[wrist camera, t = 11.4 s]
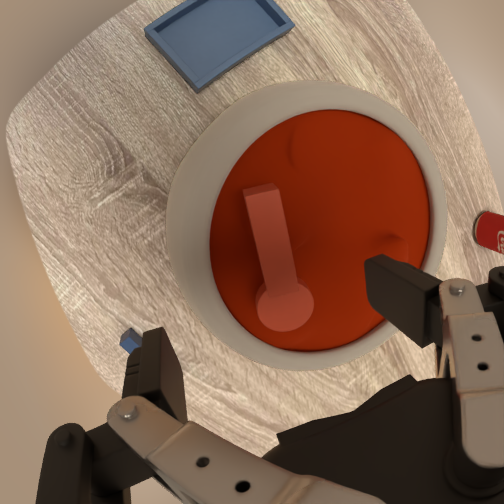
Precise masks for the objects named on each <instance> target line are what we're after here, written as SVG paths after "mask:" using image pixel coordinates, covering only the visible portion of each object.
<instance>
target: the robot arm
mask: <svg viewBox="0 0 504 504" xmlns="http://www.w3.org/2000/svg"><path fill="white" fill-rule="evenodd" d="M364 271H365V281H366V292H367V298H368V301H369V303H370V305H371V307H372V308H373V309H374V310H375V311H377V312H378V313H379V314H380V315H382V316H383V317H384V318H385V319H387V320H388V321H389V322H390V323H391V324H393V325H394V326H395V327H396V328H398V329H399V330H400V331H401V332H403V333H404V334H405V335H406V336H407V337H409V338H410V339H411V340H412V341H414V342H415V343H416V344H417V345H418V346H420V347H421V348H424V347H426V346H427V345H429V344H431V343H433V342H434V343H435V371H436V378H432V379H426V380H421V381H418V382H417V381H416V380H415V379H414V378H413V377H412V376H411V375H410V374H409V375H407V376H405V377H403V378H402V379H400V380H398V381H396V382H394V383H392V384H390V385H388V386H386V387H385V388H383V389H381V390H380V391H378V392H377V393H376V394H375V395H373V396H372V397H371V398H370V399H368V400H367V401H366V402H364V403H363V404H362V405H361V406H359V407H358V408H357V409H355V410H354V411H352V412H349V413H345V414H340V415H336V416H331V417H327V418H322V419H317V420H312V421H310V422H307V423H305V424H302V425H299V426H297V427H294V428H291V429H289V430H286V431H283V432H280V433H277V434H276V435H277V438H278V441H279V445H277V446H276V447H274V448H273V449H271V450H270V451H268V452H267V453H266V454H265V455H264V456H263V457H261V458H260V457H258V456H256V455H254V454H252V453H250V452H248V451H246V450H244V449H242V448H240V447H238V446H236V445H234V444H233V443H231V442H229V441H227V440H225V439H223V438H222V437H220V436H218V435H216V434H214V433H213V432H211V431H209V430H207V429H206V428H204V427H202V426H201V425H199V424H197V423H196V422H193V421H188V419H187V410H186V401H185V391H184V381H183V373H182V369H181V366H180V363H179V360H178V358H177V356H176V354H175V352H174V349H173V347H172V345H171V343H170V340H169V338H168V336H167V333H166V331H165V329H164V328H163V327H159V328H156V329H153V330H149V331H146V332H144V333H143V338H142V346H141V347H138V348H134V350H133V351H132V352H131V354H130V355H129V357H128V360H127V366H126V367H127V369H126V372H125V375H126V376H125V379H124V386H123V393H122V399H121V400H120V401H118V402H117V403H115V404H114V405H113V406H112V407H111V409H110V410H109V412H108V414H107V422H106V423H105V424H103V425H101V426H98V427H96V428H94V429H92V430H89V431H87V432H85V430H84V429H83V428H82V427H81V426H80V425H79V424H76V423H68V424H64V425H62V426H60V427H58V428H57V429H56V430H54V431H53V432H52V434H51V435H50V436H49V438H48V441H47V445H46V449H45V454H44V458H43V463H42V468H41V473H40V479H39V485H38V491H37V497H36V504H131V493H130V487H131V486H133V485H135V484H138V483H140V482H142V481H144V480H146V479H149V478H150V477H152V478H153V479H155V480H156V481H157V482H158V483H159V484H160V485H161V486H163V487H164V488H165V489H166V490H167V491H169V492H170V493H171V494H172V495H173V496H174V497H176V498H177V499H178V500H179V501H181V502H182V503H183V504H504V266H499V267H495V268H493V269H491V270H490V271H489V277H488V283H485V284H482V285H478V286H475V285H474V284H473V283H472V282H471V281H469V280H466V279H461V278H454V279H448V280H446V281H444V282H443V281H442V280H440V279H438V278H436V277H434V276H432V275H430V274H428V273H426V272H423V270H421V269H419V268H416V267H415V266H413V265H411V264H409V263H406V262H401V261H396V260H394V259H392V258H390V257H388V256H386V255H385V254H379V255H377V256H374V257H371V258H369V259H366V260H365V262H364Z"/></svg>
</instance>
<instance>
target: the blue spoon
mask: <svg viewBox="0 0 504 504" xmlns="http://www.w3.org/2000/svg"><path fill="white" fill-rule="evenodd" d="M119 345H120V346H122V347H123V348H124V349H125V350H126V351H127V352H128V353H129V354H131V352H132V351H133V350H134V348H138V347H141V346H142V338H141V337H140V336H139V335H138V334H137V333H136V332H135V331H134V330H133V329H132V328H130V329H129V330H128V331H126V332H125V333H124V334H123V335H122V336H121V340H120V344H119Z"/></svg>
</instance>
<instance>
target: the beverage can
mask: <svg viewBox="0 0 504 504" xmlns="http://www.w3.org/2000/svg"><path fill="white" fill-rule="evenodd" d="M475 236H476V239H477V242H478V243H479V245H481V246H483V247H486V248H488V249H491V250H493V251H496V252H498V253H501V254H503V255H504V216H503V215H500V214H496V213H493V212H489V211H487V212H485V213H483V214H482V215H481V216H480V217H479V218H478V219H477V221H476V224H475Z"/></svg>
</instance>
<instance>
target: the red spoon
mask: <svg viewBox="0 0 504 504" xmlns="http://www.w3.org/2000/svg"><path fill="white" fill-rule="evenodd" d="M243 194H244V198H245V202H246V207H247V211H248V215H249V219H250V223H251V227H252V231H253V236H254V240H255V244H256V248H257V252H258V256H259V261H260V265H261V269H262V273H263V277H264V281H265V282H264V283H263V284H262V285H261V286H260V288H259V289H258V291H257V294H256V299H255V303H256V309H257V314H258V317H259V319H260V321H261V322H262V323H263V324H264V325H265V326H266V327H268V328H269V329H272V330H275V331H280V332H285V331H291V330H294V329H297V328H299V327H300V326H302V325H303V324H304V323H305V322H306V321H307V320H308V319H309V318H310V316H311V314H312V312H313V308H314V299H313V296H312V294H311V292H310V290H309V288H308V286H307V284H306V283H305V282H304V281H303V280H302V279H300V278H299V277H297V276H296V270H295V265H294V260H293V255H292V250H291V245H290V240H289V235H288V230H287V225H286V220H285V215H284V210H283V206H282V201H281V196H280V192H279V189H278V188H277V187H276V186H275V185H274V184H273V183H269V184H264V185H260V186H256V187H252V188H248V189H244V190H243Z"/></svg>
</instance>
